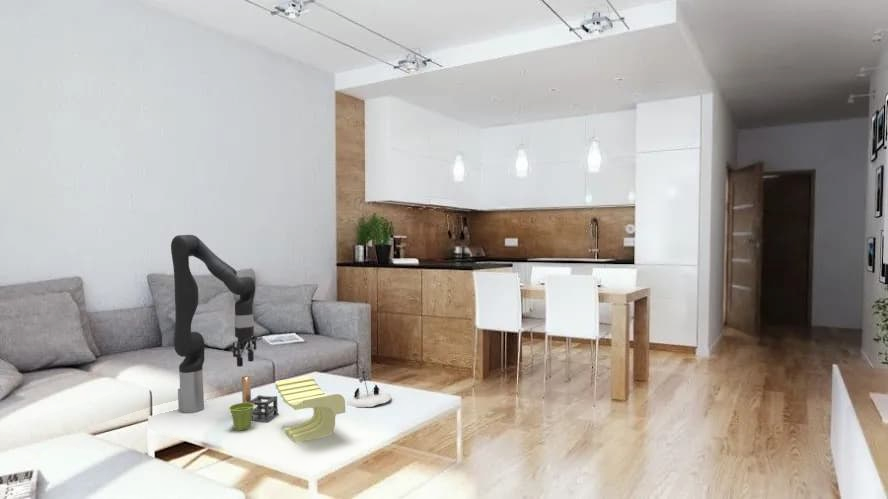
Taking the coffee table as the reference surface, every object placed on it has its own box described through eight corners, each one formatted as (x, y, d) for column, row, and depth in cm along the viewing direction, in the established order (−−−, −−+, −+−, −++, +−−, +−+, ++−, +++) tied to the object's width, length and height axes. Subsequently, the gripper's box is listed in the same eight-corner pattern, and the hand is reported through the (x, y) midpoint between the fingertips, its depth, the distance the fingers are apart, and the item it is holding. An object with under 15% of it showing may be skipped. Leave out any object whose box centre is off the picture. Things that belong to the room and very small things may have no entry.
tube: (241, 415, 241) (239, 377, 240) (245, 412, 245) (244, 375, 244) (248, 416, 241) (247, 378, 240) (253, 413, 244) (252, 375, 243)
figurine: (395, 393, 266) (390, 358, 265) (387, 406, 248) (382, 369, 247) (352, 397, 268) (348, 362, 267) (342, 410, 250) (337, 373, 249)
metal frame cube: (247, 421, 234) (246, 401, 234) (258, 413, 243) (258, 395, 243) (268, 422, 233) (267, 402, 232) (278, 415, 241) (278, 396, 241)
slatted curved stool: (346, 440, 213) (344, 392, 212) (304, 450, 204) (302, 400, 203) (315, 417, 238) (314, 374, 237) (276, 425, 229) (275, 381, 228)
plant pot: (240, 434, 221) (239, 411, 220) (224, 429, 226) (223, 407, 225) (260, 426, 228) (259, 404, 228) (244, 422, 233) (243, 401, 233)
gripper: (245, 321, 248) (246, 359, 249) (226, 328, 234) (227, 367, 235) (261, 322, 247) (262, 359, 248) (243, 328, 233) (244, 368, 234)
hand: (245, 363), depth 242 cm, fingers open, 8 cm apart
